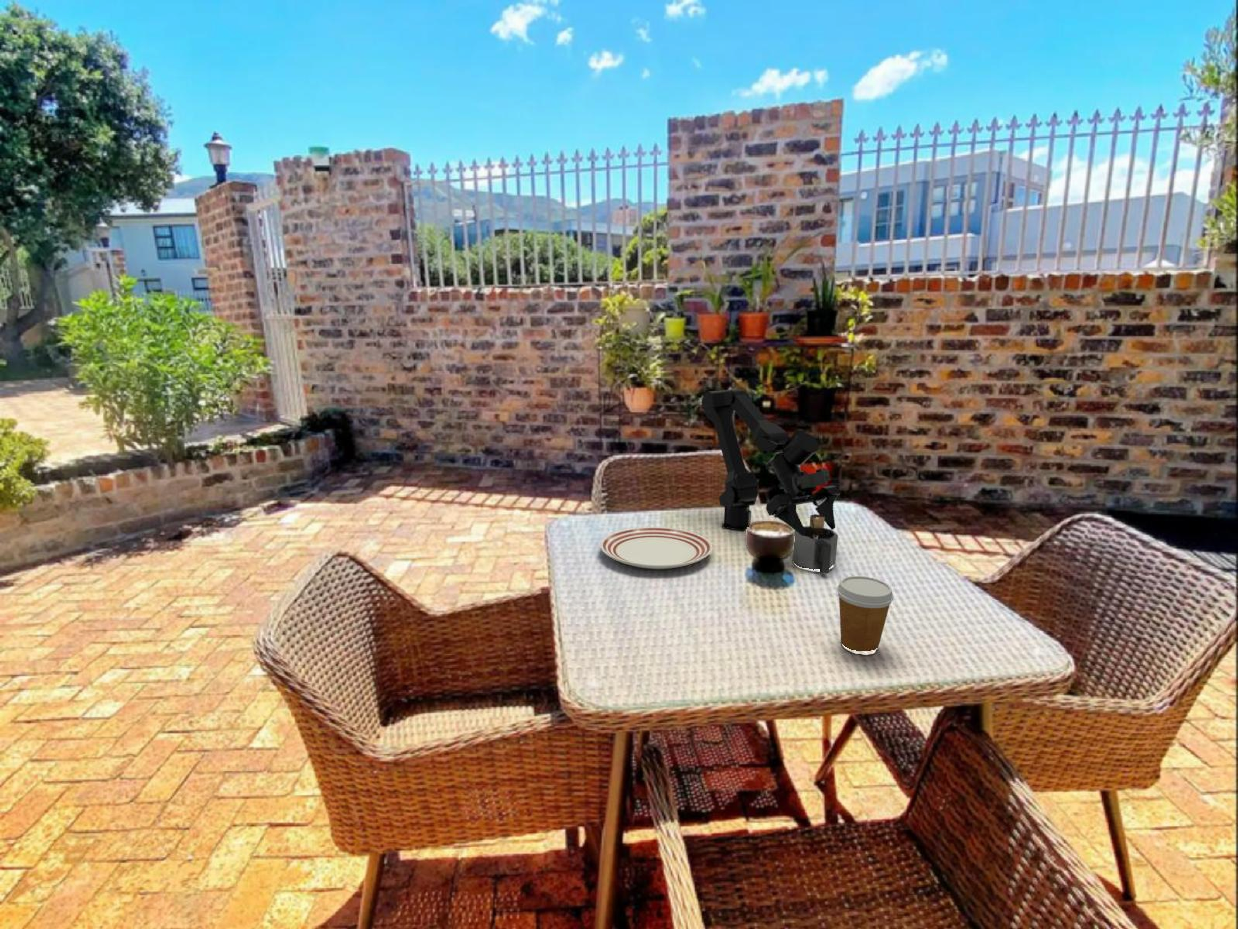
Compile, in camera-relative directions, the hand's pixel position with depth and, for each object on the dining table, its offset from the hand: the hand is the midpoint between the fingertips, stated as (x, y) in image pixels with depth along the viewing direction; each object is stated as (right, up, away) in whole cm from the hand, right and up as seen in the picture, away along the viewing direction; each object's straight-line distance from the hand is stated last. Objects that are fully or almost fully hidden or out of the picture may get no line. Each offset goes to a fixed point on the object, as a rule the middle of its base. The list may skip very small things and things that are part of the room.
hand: (819, 531), depth 151 cm
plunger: (0, -7, +3) cm, 7 cm away
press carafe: (0, -8, +2) cm, 9 cm away
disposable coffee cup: (-3, -18, -33) cm, 38 cm away
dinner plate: (-38, -7, +9) cm, 39 cm away
